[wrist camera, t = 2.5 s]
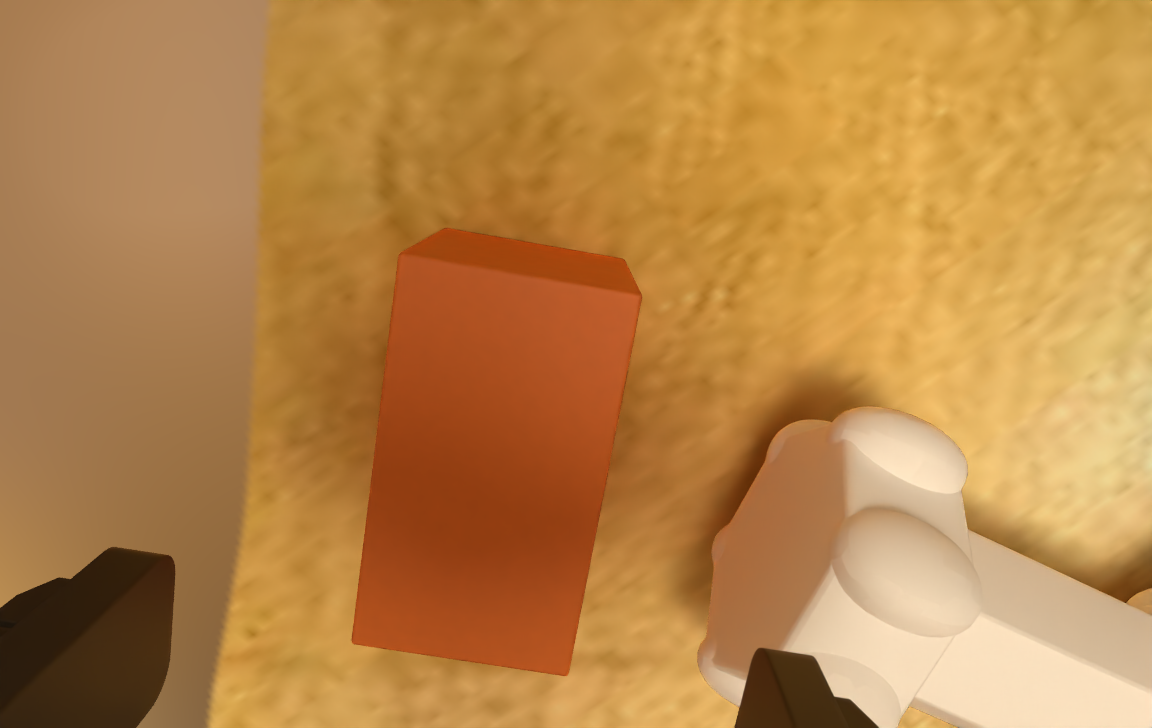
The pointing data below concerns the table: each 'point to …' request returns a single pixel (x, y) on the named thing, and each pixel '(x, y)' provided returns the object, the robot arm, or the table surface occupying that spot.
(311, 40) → the table surface
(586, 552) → the block
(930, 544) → the white bone
